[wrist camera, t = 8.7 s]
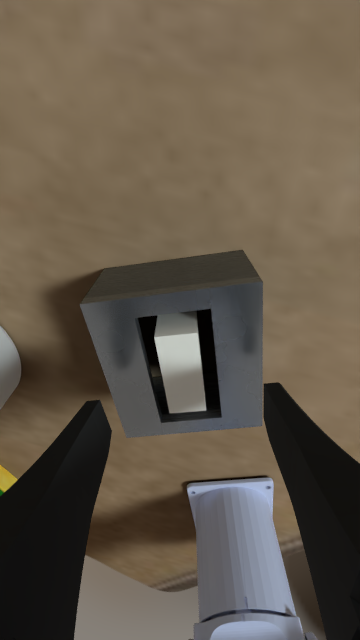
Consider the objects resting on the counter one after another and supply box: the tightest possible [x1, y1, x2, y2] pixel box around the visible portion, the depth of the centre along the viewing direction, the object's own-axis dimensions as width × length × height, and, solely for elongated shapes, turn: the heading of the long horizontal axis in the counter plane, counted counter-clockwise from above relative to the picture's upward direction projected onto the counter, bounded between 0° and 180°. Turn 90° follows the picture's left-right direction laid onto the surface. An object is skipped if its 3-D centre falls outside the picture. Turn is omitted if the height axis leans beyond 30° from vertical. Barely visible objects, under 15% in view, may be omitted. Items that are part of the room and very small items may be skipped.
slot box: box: [80, 250, 263, 438], centre depth 17 cm, size 9×8×5 cm
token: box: [154, 310, 206, 413], centre depth 16 cm, size 5×2×5 cm, turn 7°
